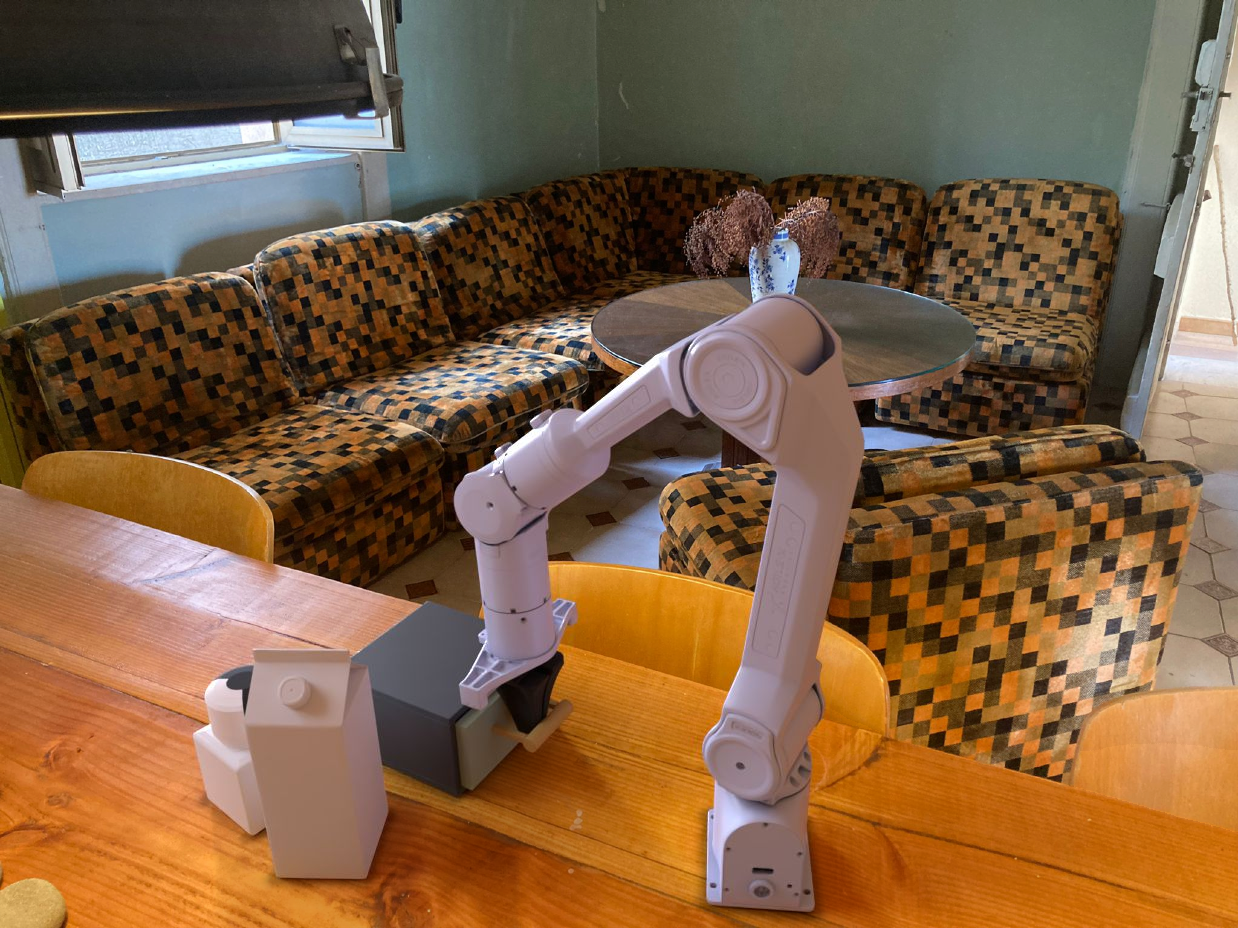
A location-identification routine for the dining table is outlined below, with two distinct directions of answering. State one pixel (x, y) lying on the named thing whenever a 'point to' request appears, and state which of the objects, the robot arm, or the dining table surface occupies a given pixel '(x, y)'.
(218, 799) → the medicine bottle
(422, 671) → the cabinet
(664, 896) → the dining table surface
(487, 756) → the drawer
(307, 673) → the milk carton
